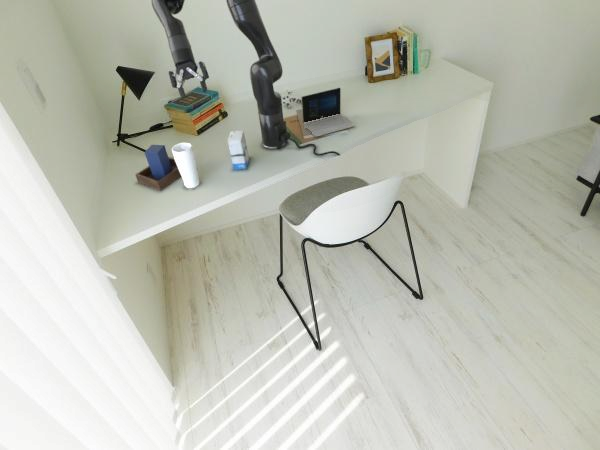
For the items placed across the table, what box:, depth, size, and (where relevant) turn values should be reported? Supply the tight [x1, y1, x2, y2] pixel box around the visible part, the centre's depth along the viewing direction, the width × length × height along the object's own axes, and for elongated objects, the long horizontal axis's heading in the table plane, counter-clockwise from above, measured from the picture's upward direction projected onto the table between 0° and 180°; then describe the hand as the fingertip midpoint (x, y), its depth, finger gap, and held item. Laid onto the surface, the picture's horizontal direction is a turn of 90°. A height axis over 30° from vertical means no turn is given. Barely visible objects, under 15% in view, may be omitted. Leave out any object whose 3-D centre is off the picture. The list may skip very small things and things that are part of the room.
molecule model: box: [281, 89, 302, 109], centre depth 186 cm, size 6×12×8 cm, turn 128°
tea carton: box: [144, 144, 173, 179], centre depth 143 cm, size 5×6×11 cm
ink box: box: [227, 130, 250, 171], centre depth 146 cm, size 9×5×12 cm, turn 178°
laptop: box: [301, 87, 355, 138], centre depth 164 cm, size 18×12×13 cm
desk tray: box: [134, 156, 182, 192], centre depth 145 cm, size 12×15×4 cm
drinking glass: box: [171, 142, 201, 189], centre depth 136 cm, size 7×7×15 cm
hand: (194, 95), depth 150 cm, fingers open, 8 cm apart
